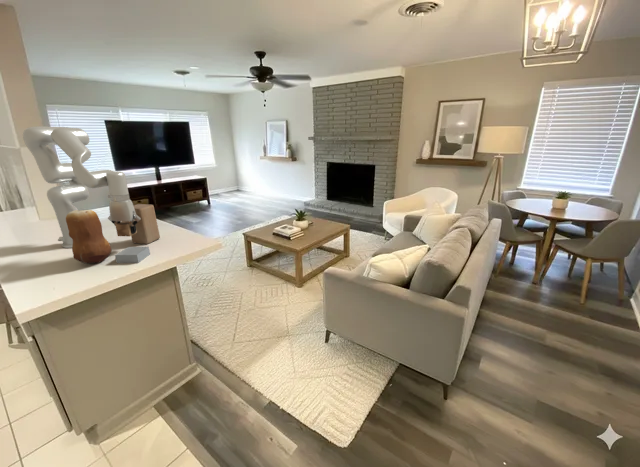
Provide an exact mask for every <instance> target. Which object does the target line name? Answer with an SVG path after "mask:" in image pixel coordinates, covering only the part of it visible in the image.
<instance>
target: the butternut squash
mask: <svg viewBox="0 0 640 467" xmlns="http://www.w3.org/2000/svg"><path fill="white" fill-rule="evenodd" d="M100 220H101V219H100V218H99V215H98V213H97V212H96V211H95V210H92V209H84V210H83V209H81V210H79V209H78V210H75V211H72V212H69V213H68V214H67V216H66V223H67V226H68V230H69V236H70V237H71V238H72V239H73V245H72V248H71V250H72V255H73V259H74V260H76V261H78V262H80V263H82V264H100V263H101V262H102V261H103V262H104V261H105V260H106V259H107V258H108V257H109V256H110V255H111V252H112V247H111V245H110V242H109V240H107V238H105V236H104V234H103V224H102V223H101V221H100ZM103 262H102V263H103Z"/></svg>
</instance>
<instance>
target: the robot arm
mask: <svg viewBox="0 0 640 467" xmlns="http://www.w3.org/2000/svg"><path fill="white" fill-rule="evenodd" d="M22 141H23V142H24V145H25V147H26V148H27V149H28V150H29V152H30V153H31V155H32V156H33V158H34V160H35V163H36V165H37V166H38V169H39V171H40V174H41V176H42V178H43V179H44V181H45V182H46V183H47V184H53V185H54V184H61V185H57V186H53V187H50V188H48V190H47V191H46V197H47V199H48V201H49V203H50V205H51V206H52V208H53V211H54V213H55V216H56V219H57V221H58V222H57V223H58V225H59V229H60V231H61V235H62V236H59V237H58V239H57V241H58V242H62V243H61V247H62V248H65V249H69V248H70V249H72V245H73V239H72V238H71V237H70V236H69V230H68V226H67V223H66V216H67V214H68V213H69V212H72V211H75V210H79V209H78V208H77V207H76V206H75V205H73V203H79V202H83V201H86V200H88V199H89V198H90V191H89V189H99V188H102V187H107V188H108V193H109V194H108V196H107V197H108V198H109V199H110V200H109V206H108V207H109V208H108V210H109V216H108V217H107V219H108V220H109V221H110V222H111V223H112V224H113V225H114V226H115V225H116V224H118V223H120V222H122V221H123V222H129V223H130V225H131V226H130V228H131V233H132V234H134V233H136V224H137V223H138V222H139V221H140V219H141V218H140V217H139V216H137V215H136V213H135V209H134V203H133V201H132V200H131V198H130V193H129V189H128V183H127V177H126V174H125V172H123V171H115V170H110V169H103V170H96V171H95V170H93V171H89V170H88V169H87V168H86V167H85V165H83V164H84V163H85V162H86V161H89V159H90V158H91V156H92V152H91V150H90V149H89V148H88V147H87V145H89V143H90V136H89V135H88V133H87V132H86V131H85V130H84V129H82V128H78V127H68V126H67V127H65V126H41V125H39V126H30V127H27V128H25V129H24V130H23V132H22ZM48 146H57V147H59V149H61V151H63V152H64V154H66V156H68V157H69V159H70V160H71V162H64V163H63V162H62V163H61V162H60V160H59V158H58V155H57V153H56V152H55V151H54V150H52V149H51V148H50V147H48ZM63 183H69V184H63ZM62 184H63V185H62ZM134 219H136V220H134Z"/></svg>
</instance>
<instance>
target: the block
mask: <svg viewBox="0 0 640 467" xmlns="http://www.w3.org/2000/svg"><path fill="white" fill-rule="evenodd" d="M133 206H134V209H135V213H136V215H137V216H139V217H140V218H141V219H140V221H139V222H138V223H137V224H136V229H137V233H135V234H134V235H132V236H130V237H131V241H132V243H133V244H138V245H139V244H141V245H142V244H143V245H149V244H151V243H153V242H156V241H157V240H160V239H161V236H160V231H159V224H158V221H157V216H156V211H155V207H154V204H148V203H147V204H142V203H138V204H133ZM134 220H136V219H134Z"/></svg>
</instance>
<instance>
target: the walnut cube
mask: <svg viewBox="0 0 640 467" xmlns="http://www.w3.org/2000/svg"><path fill="white" fill-rule="evenodd" d="M114 226H115V229H116V234H117V237H131V236H132V235H134V234H135V233H134V234H132V233H131V228H130V226H131V225H130V223H129V222H123V221H121V222H120V223H118V224H116V225H114ZM136 233H137V229H136Z"/></svg>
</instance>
